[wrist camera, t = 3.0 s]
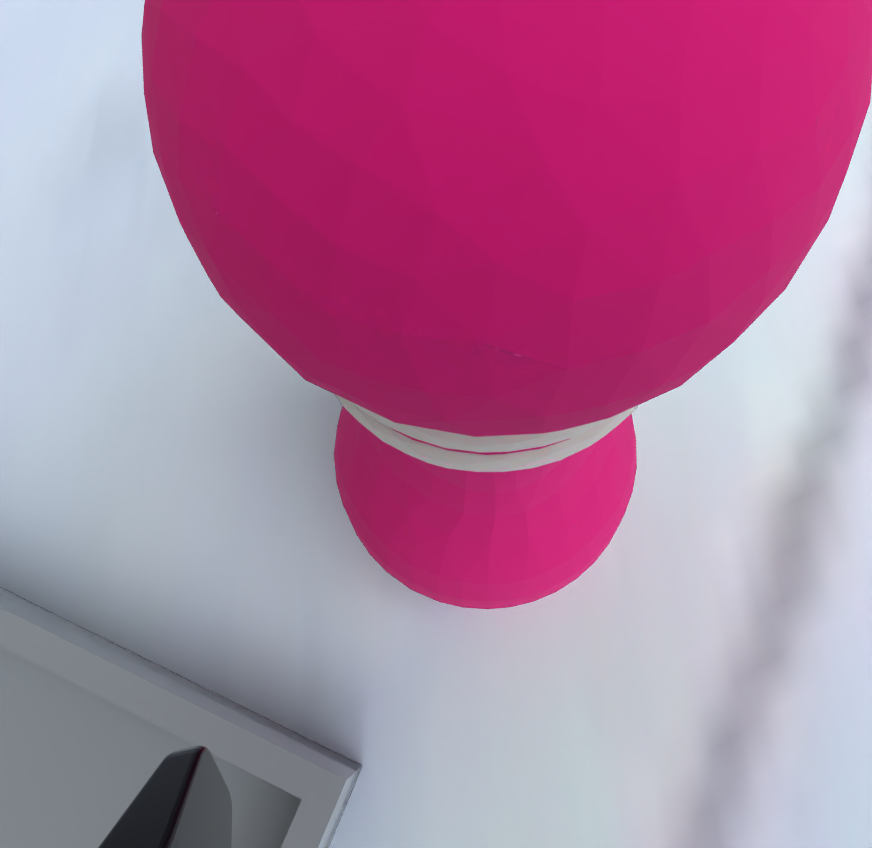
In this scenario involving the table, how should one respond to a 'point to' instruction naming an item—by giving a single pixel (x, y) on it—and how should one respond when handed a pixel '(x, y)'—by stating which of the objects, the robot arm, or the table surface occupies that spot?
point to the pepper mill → (500, 234)
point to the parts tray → (139, 743)
